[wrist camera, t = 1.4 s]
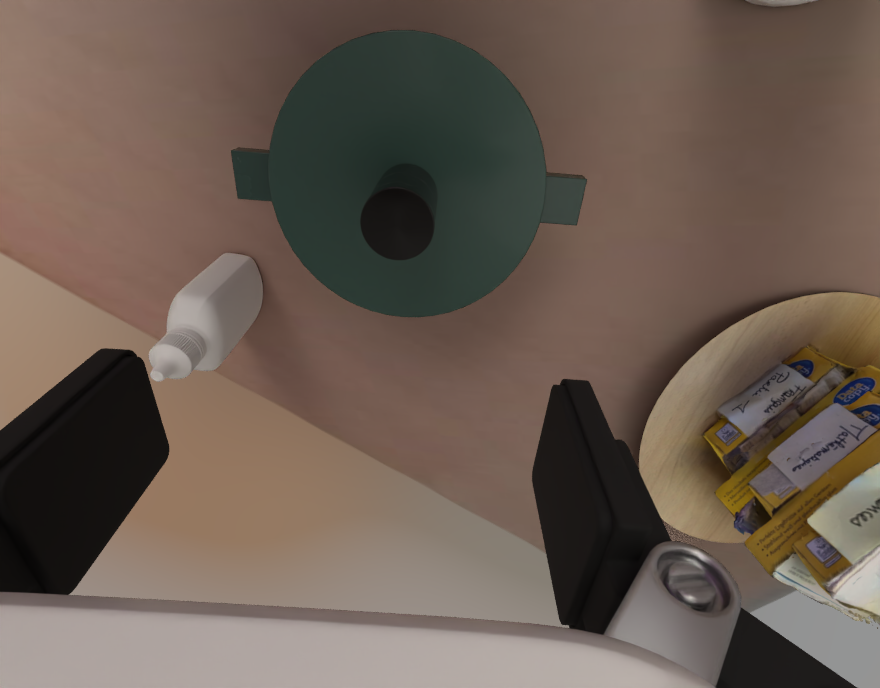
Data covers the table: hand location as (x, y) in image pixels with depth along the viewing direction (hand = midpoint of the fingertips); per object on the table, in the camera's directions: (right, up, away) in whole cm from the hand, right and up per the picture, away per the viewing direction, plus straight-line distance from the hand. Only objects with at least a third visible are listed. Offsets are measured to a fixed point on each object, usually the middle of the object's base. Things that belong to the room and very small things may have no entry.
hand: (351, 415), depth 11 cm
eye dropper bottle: (-13, +6, +25) cm, 29 cm away
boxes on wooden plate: (+31, -5, +31) cm, 44 cm away
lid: (0, +9, +13) cm, 16 cm away
